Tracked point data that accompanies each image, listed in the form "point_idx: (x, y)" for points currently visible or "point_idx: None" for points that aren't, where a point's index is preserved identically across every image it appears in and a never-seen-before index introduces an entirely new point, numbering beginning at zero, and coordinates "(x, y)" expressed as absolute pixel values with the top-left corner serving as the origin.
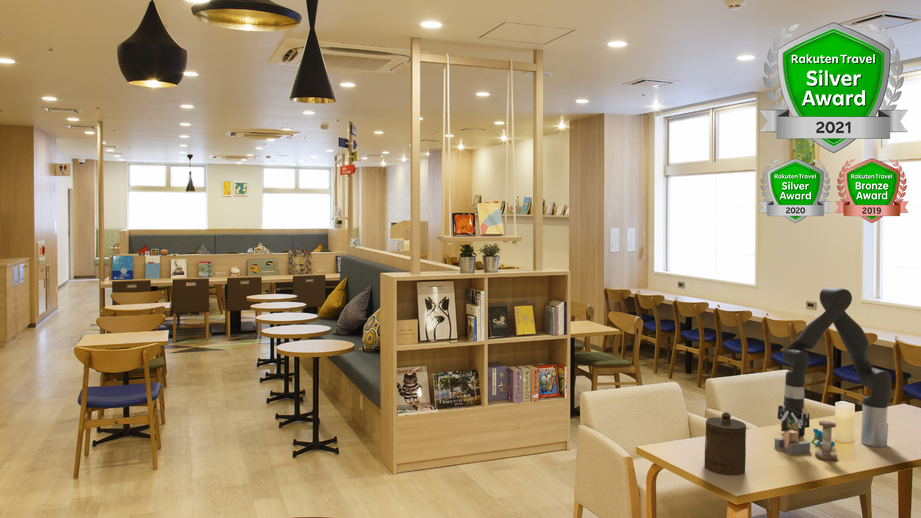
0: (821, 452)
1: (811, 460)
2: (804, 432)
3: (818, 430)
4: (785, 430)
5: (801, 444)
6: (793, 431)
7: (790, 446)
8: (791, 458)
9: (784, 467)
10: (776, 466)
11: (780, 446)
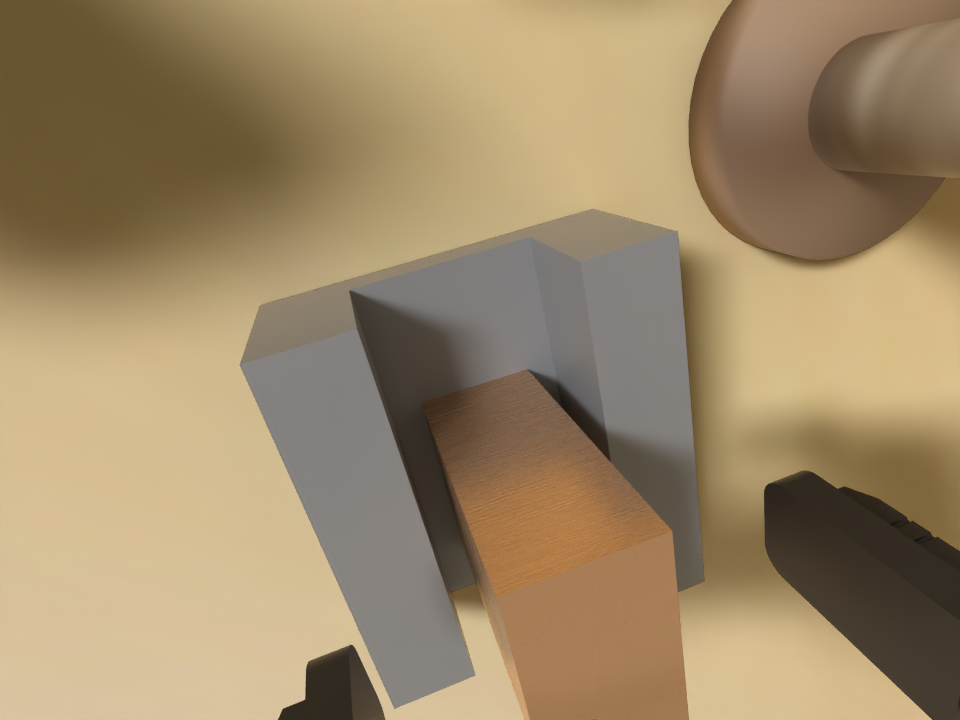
0: (797, 139)
1: (822, 371)
2: (927, 535)
3: None
4: (364, 674)
5: (687, 423)
6: (608, 620)
7: None
8: (719, 544)
9: (854, 666)
10: (820, 710)
11: (445, 573)
